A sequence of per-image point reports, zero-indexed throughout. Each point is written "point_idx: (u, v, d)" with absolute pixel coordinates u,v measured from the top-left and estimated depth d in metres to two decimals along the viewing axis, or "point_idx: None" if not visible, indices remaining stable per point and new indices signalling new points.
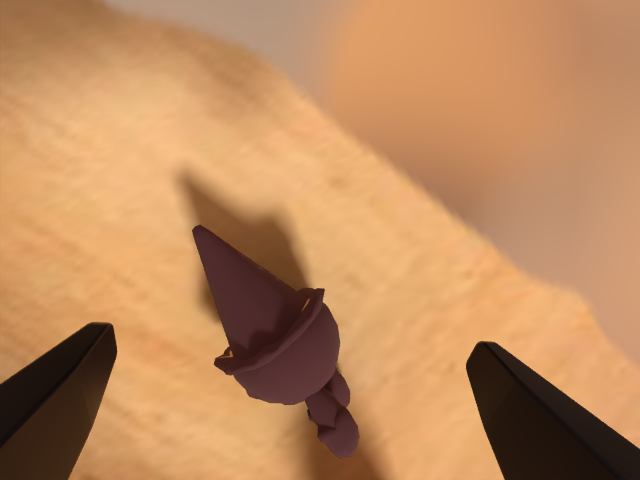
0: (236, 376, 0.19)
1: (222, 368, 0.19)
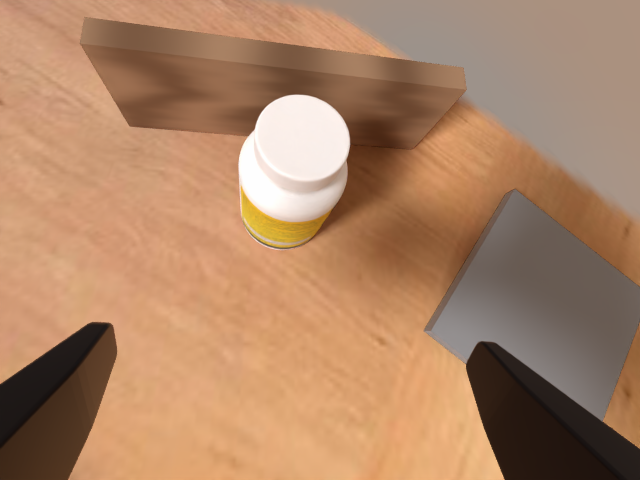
0: None
1: None
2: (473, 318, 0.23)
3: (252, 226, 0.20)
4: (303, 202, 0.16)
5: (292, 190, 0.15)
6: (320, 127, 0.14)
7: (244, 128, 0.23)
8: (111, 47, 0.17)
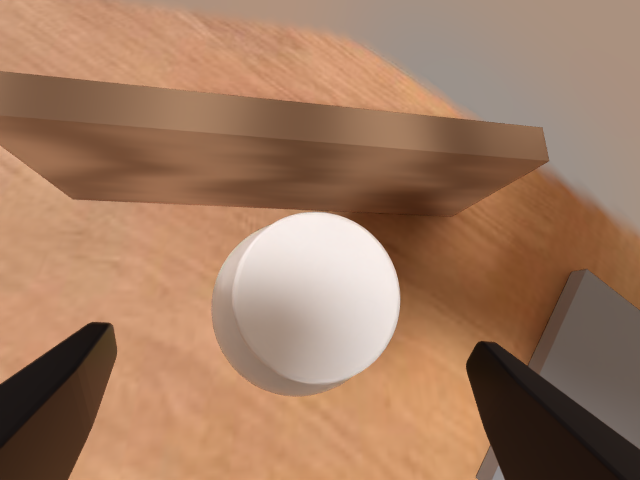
0: None
1: None
2: None
3: None
4: None
5: None
6: (349, 272, 0.08)
7: (231, 200, 0.17)
8: (9, 115, 0.10)
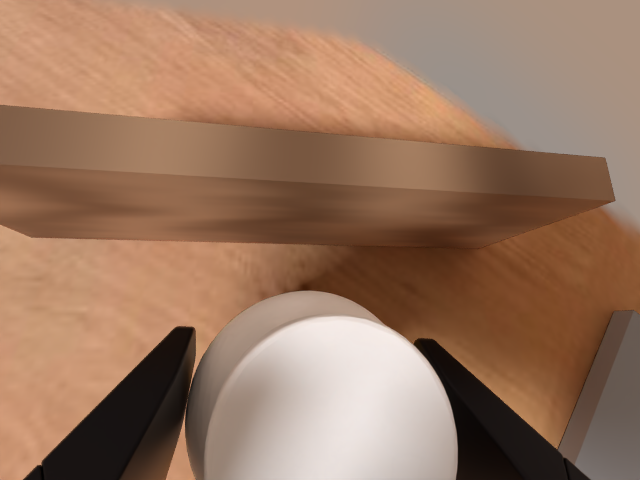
0: None
1: None
2: None
3: None
4: None
5: None
6: (382, 411, 0.05)
7: (221, 237, 0.14)
8: None
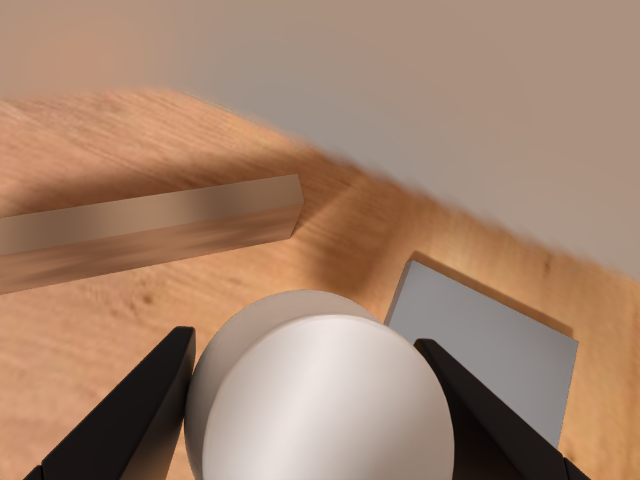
0: None
1: None
2: None
3: None
4: None
5: None
6: (379, 408, 0.06)
7: (66, 278, 0.19)
8: None
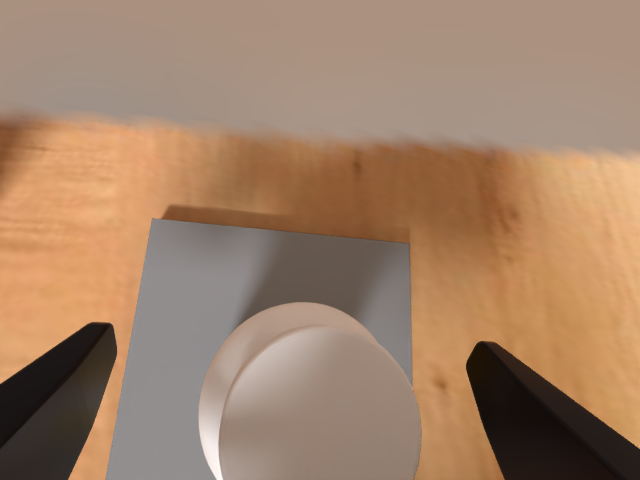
0: None
1: None
2: (161, 468, 0.14)
3: None
4: None
5: None
6: (360, 404, 0.07)
7: None
8: None
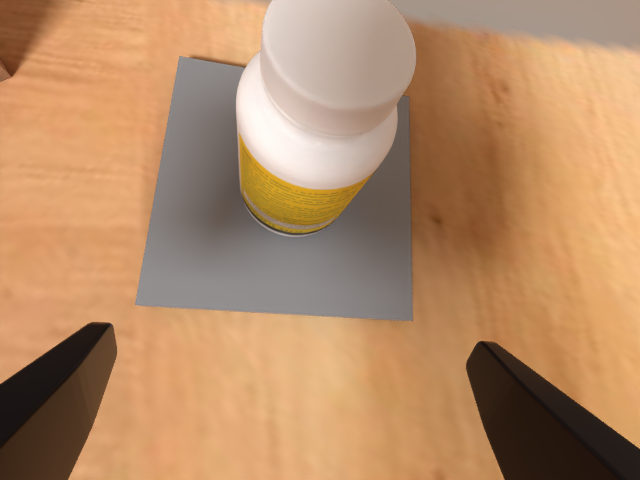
0: None
1: None
2: (191, 252, 0.16)
3: (255, 201, 0.14)
4: (335, 156, 0.10)
5: (322, 133, 0.09)
6: (369, 28, 0.09)
7: None
8: None
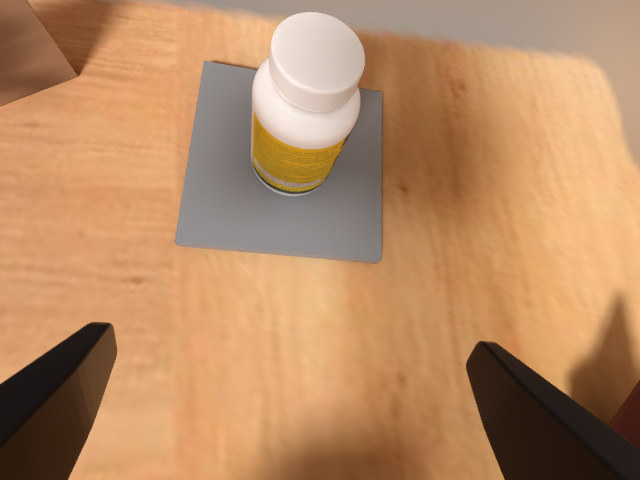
0: None
1: None
2: (215, 206, 0.22)
3: (263, 165, 0.20)
4: (317, 125, 0.16)
5: (307, 108, 0.15)
6: (336, 43, 0.14)
7: None
8: None
